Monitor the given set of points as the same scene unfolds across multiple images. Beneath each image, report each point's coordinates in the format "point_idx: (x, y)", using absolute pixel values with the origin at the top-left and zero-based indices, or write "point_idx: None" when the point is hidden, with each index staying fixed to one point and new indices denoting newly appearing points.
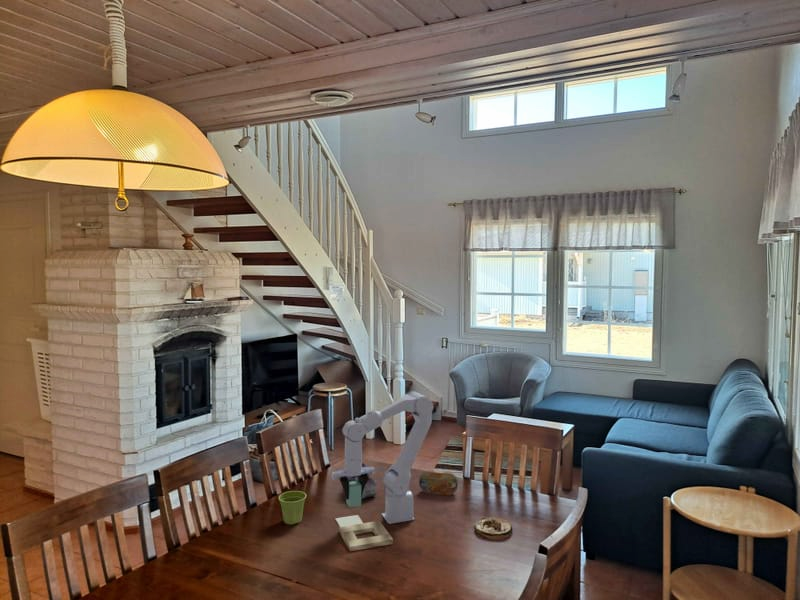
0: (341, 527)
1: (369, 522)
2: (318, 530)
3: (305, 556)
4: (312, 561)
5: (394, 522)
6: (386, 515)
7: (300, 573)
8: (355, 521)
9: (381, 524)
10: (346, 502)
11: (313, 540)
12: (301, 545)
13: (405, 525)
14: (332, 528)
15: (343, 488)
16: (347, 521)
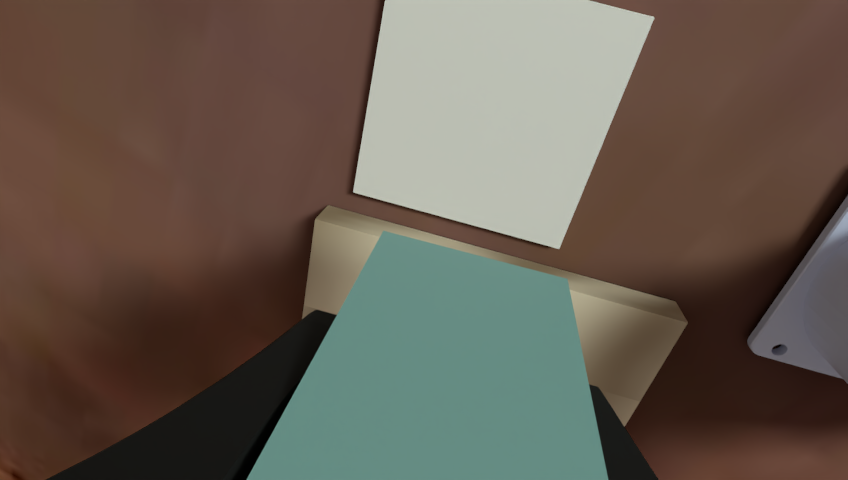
0: (332, 235)
1: (590, 298)
2: (180, 88)
3: (56, 346)
4: (88, 401)
5: (797, 364)
6: (830, 294)
7: (29, 442)
8: (530, 151)
9: (646, 380)
10: (381, 239)
11: (119, 215)
12: (36, 228)
13: (830, 421)
14: (299, 125)
15: (188, 421)
16: (465, 104)
